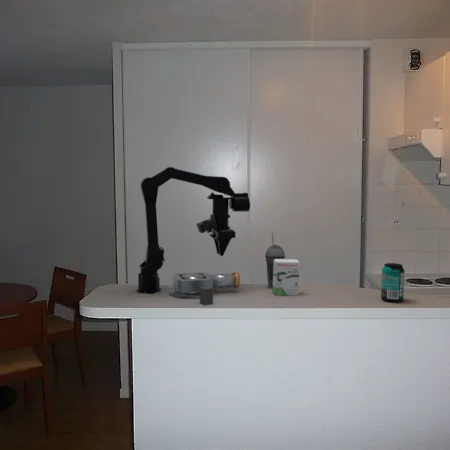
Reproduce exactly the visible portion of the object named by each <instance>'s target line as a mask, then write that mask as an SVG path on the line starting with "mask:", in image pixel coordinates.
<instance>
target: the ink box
mask: <svg viewBox="0 0 450 450" xmlns="http://www.w3.org/2000/svg"><path fill="white" fill-rule="evenodd" d="M300 265H301V263H300V261H299V260H298V259H296V258H294V259H293V258H289V259H288V258H285V259H274V263H273V288H272V293H273V295H274V296H299V293H300V291H299V289H300Z"/></svg>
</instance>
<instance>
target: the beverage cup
mask: <svg viewBox="0 0 450 450" xmlns="http://www.w3.org/2000/svg"><path fill="white" fill-rule="evenodd" d="M271 240H272V245H270V246H269V247H268V248H267V249H266V251H265V255H264V257H265V262H266V276H267V286H268V288H269V289H273V263H274V259H286V256H285V251H284V249H283V247H282V246H281V245H278V244H275V239H274V233H273V232H271Z"/></svg>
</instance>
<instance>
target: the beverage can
mask: <svg viewBox="0 0 450 450" xmlns="http://www.w3.org/2000/svg"><path fill="white" fill-rule="evenodd" d="M405 272H406V271H405V269H404V267H403V264H401V263H395V262H388V263H384V266H383V267H382V269H381V290H380V291H381V292H380V293H381V294H380V298H381V299H382V301H384V302H386V301H387V303H393V302H394V303H401V302H402V301H403V300H404V291H405ZM394 303H393V304H394Z"/></svg>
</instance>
